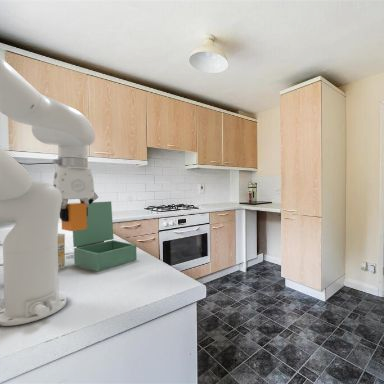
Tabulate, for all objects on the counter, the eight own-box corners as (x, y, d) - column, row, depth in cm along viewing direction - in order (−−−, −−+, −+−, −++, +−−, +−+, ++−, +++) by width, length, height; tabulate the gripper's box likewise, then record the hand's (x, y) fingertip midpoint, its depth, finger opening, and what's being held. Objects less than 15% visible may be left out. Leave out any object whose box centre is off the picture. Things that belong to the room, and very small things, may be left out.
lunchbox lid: (111, 201, 100) (105, 201, 102) (71, 203, 87) (66, 204, 89) (113, 239, 100) (107, 238, 102) (74, 247, 87) (68, 246, 89)
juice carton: (86, 228, 77) (86, 203, 76) (71, 231, 73) (70, 204, 72) (77, 227, 79) (77, 202, 79) (61, 229, 75) (61, 203, 75)
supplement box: (40, 278, 76) (39, 238, 76) (29, 276, 77) (28, 237, 77) (65, 269, 84) (65, 233, 84) (55, 268, 85) (54, 232, 85)
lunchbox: (136, 261, 93) (136, 244, 93) (97, 273, 80) (97, 254, 80) (113, 255, 100) (113, 240, 100) (74, 266, 87) (74, 248, 87)
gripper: (45, 161, 66) (47, 224, 67) (107, 166, 81) (107, 217, 82) (34, 162, 70) (35, 222, 70) (95, 166, 85) (95, 216, 85)
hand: (74, 219), depth 76 cm, fingers closed on juice carton, 4 cm apart
